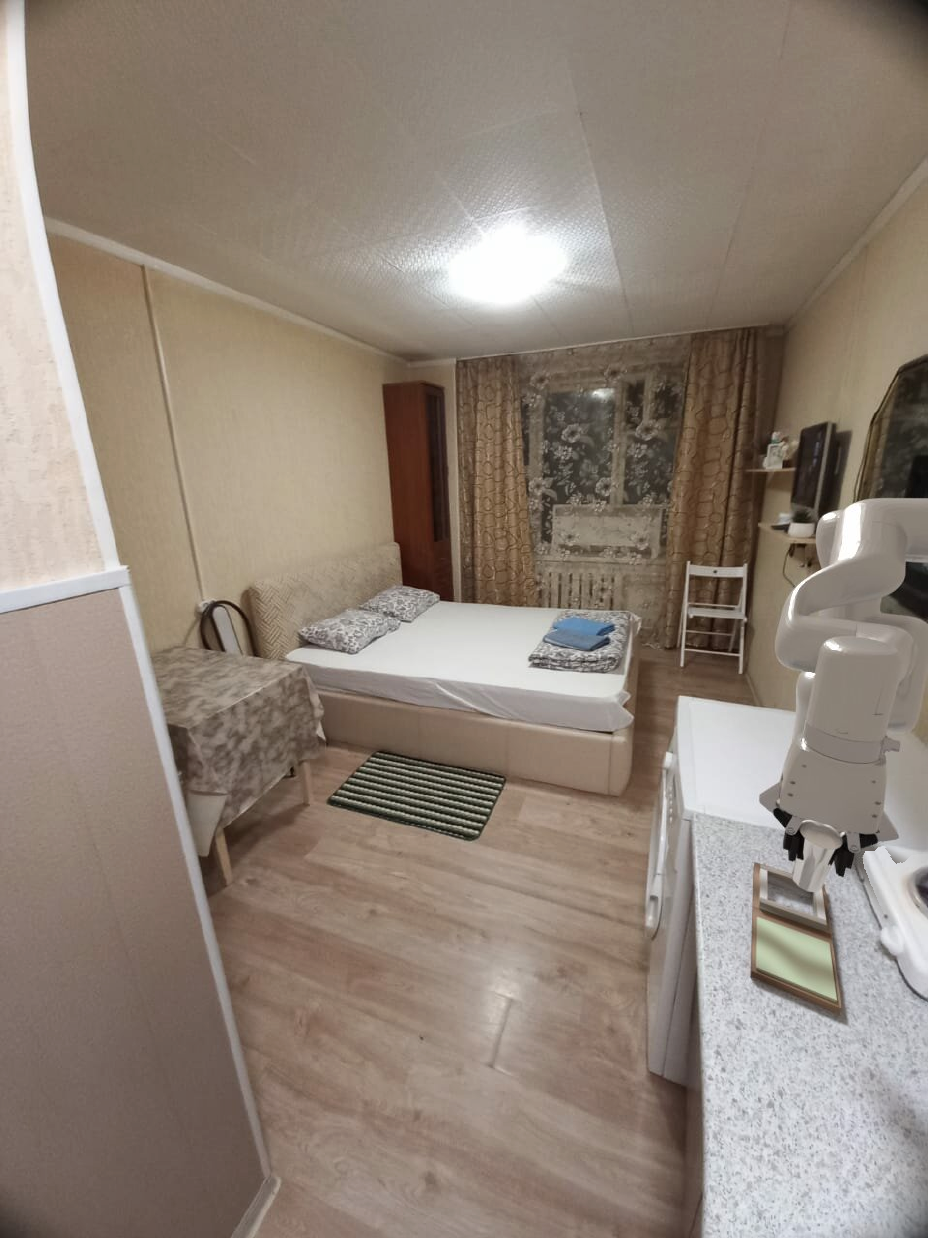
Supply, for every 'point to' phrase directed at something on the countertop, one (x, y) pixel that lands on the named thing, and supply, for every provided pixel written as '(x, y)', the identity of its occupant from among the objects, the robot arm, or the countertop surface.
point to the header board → (793, 942)
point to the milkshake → (815, 854)
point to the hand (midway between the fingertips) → (814, 860)
